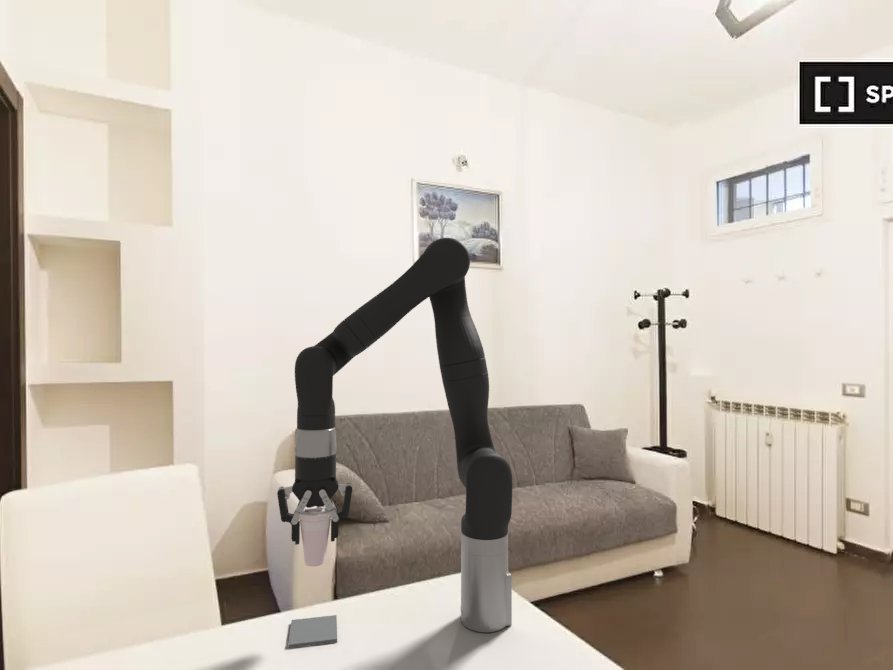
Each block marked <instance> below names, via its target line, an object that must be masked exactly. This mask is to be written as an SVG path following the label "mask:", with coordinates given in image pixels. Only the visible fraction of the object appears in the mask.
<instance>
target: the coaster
mask: <svg viewBox="0 0 893 670" xmlns="http://www.w3.org/2000/svg"><path fill="white" fill-rule="evenodd" d="M337 622H338V619H337V614H333V615H324V616H315V617H308V618H307V617H306V618H297V619H291V621H290V630H289V637H288V644H287V645H288V646H287V647H288V649H291V648H290V647H294V648H301V647H300V646H302V647H309V645H310V646H317V645H326V644H332V643H334V644H335V643H338V626H337V625H338V623H337Z"/></svg>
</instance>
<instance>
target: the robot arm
mask: <svg viewBox="0 0 893 670" xmlns="http://www.w3.org/2000/svg"><path fill="white" fill-rule="evenodd" d="M470 256H471V255H470V253H469V250H468V248H467V246H466V244H463V242H462V241H460V240H458V239H456V238H453V237H442V238H438V239H436V240H434V241H432V242H431V243H429V245H428V246H427V247H426V248H425V249H424V252H423V253H422V254H421V255H420V256H419V257H418V259H417V260H416V261H414V263H413V264H412V265H411V267H409V268H408V269H406V271H405V272H404V273H403V274H402V275H401V276H400V277H398V278H397V279H396V280H395V281H393V282H392V283H391V284H390V285H389V286H388V285H387V286H386V288H384V289H383V290H381V291H380V292H378V294H376V295H375V296H373V297H372V298H370V299H369V300H368V301H366V302H365V303H364V304H363V305H361V306H360V307H359V308H357V309H355V311H353V312H352V313H351V314H350V315H348V316H346V317H345V318H344V320H342V321H340V322H339V323H338V324H337V326H336V327H334V329H333V331H332V332H331V333H330V334H328V335H326V337H324V338H323V339H321V340H320V341H319V342H318V343H316V344H315V345H313V346H309V347H306V348H304V349H303V350H301V351H300V352H299V354H297V357H296V358H295V364H294V382H295V384H294V385H295V391H296V399H297V411H296V414H297V415H296V435H295V440H294V441H295V443H294V444H295V445H294V446H295V447H294V454H295V455H294V456H295V457H294V459H295V460H294V462H295V463H294V482H293V484H292V485H291V486H286V487H284V486H279V487H278V490H277V492H276V494H277V501H278V507H279V515H280V520H281V522H282V523H289V524H290V525H291V534H290V535H291V540H292V541H291V542H293V543H294V545H299V544H300V541H301V539H300V538H301V537H300V536H301V535H300V533H301V525H300V519H299V517H300V515H299V514H302V513H303V511H304V509H305V507H307V508H310V507H314V506H318V507H324V506H325V507H326V509H327V511H328V512H330V511H331V513H330V515H331V520H330V542H335V540H336V539H338V537H339V530H340V529H339V528H340V527H339V525H340V523H339V522H340V520H342V519H345V518H348V517H349V514H350V513H349V512H350V508H351V507H350V506H351V502H352V496H353V495H352V494H353V484H352V483H351V482H347V483H339V481H338V480H337V450H338V447H337V434H336V403H335V400H334V397H333V387H334V384H333V383H334V376H335V375H336V374H337V373H338V372H339V371H340V370H342V369H343V368H344V367H345V366H346V365H348V363H349V362H350V361H352V360H353V359H354V358H355V357H356V356H358V355H360V354H361V353H363V352H364V351H366V350H367V349H369V348H370V346H372V345H374V343H376V342H377V341H378V340H380V339H381V337H383V336H384V335H386V333H388V332H389V331H390V330H391V329H392V328H393V327H395V326H396V325H397V323H399V322H400V321H401V320H403V318H404V317H406V316H407V315H408V314H409V313H410V312H411V311H412V310H414V309H415V308H416V307H417V306H418V305H420V304H421V303H423V302H424V301H425V300H427V299H428V298H429V301H430V304H431V308H432V313H433V314H432V315H433V318H434V320H433V321H434V327H435V328H434V330H435V342H436V350H437V351H436V352H437V356H438V364H439V365H438V366H439V371H440V375H441V380H442V381H441V382H442V385H443V389H444V393H445V398H446V403H447V406H448V410H449V411H448V412H449V413H450V414H449V415H450V417H451V422H452V426H453V432H454V440H455V441H454V443H455V452H456V453H455V454H456V464H457V465H456V468H457V473H458V478H459V480H460V482H461V484H462V486H463V487H464V488H465V512H464V513H465V514H463V515H462V517H461V522H460V540H461V541H460V546H461V548H460V549H461V550H460V560H461V561H460V621H461V623H462V624H463V626H464V627H465V628H468V629H469V630H471V631H474V632H478V633H493V632H498V631H501V630H503V629H505V628H506V627H507V626H512V623H513V622H512V621H513V619H512V616H513V615H512V613H513V612H512V609H513V608H512V607H513V606H512V605H513V603H512V602H513V601H512V600H513V598H512V596H513V595H512V593H513V592H512V589H513V587H512V586H513V585H512V584H513V580H512V579H513V577H512V574H511V572H509V571H510V570H509V524H510V521H511V520H512V511H513V510H512V508H513V473H512V469H511V465H510V464H509V462H508V461H507V459H506V458H505V457H503V456H502V455H500V454H499V453H497V450H496V448H495V446H494V442H493V439H492V435H491V430H490V426H489V421H488V420H489V419H488V411H489V396H490V381H489V380H490V378H489V372H488V366H487V361H486V356H485V352H484V347H483V344H482V341H481V338H480V336H479V333H478V330H477V328H476V325H475V323H474V321H473V318H472V314H471V312H470V307H469V304H468V298H467V297H468V296H467V288H466V276H467V274H468V272H469V270H470V265H471V257H470ZM338 490H339V491H340V495H341V496H342V497H343V499H342V500H343V501H342V504H341V506H342V507H341V509H339V510H337V508H336V506H335V502H334V501H333V499H332V498H333V497H334V496H335V494H336V492H337V491H338ZM291 494H293V495H294V496H295V497H296V499H298V503H297V504H296V508H295V510H294V511H293V513H290V512H289V506H288V500H289V499H290V497H291Z"/></svg>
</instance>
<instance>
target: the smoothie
mask: <svg viewBox="0 0 893 670" xmlns="http://www.w3.org/2000/svg"><path fill="white" fill-rule="evenodd" d="M330 513H331V511H330V512H328V511H327V509H326V507H325V506H324V507H318V506H314V507H310V508H307V507H305V509H304V511H303V513H302V514H299V515H300V517H299V521H300V533H301V540H302V548H303V550H302V551H303V559H304V565H305V566H307V567H318V566H322V565H324V564H325V563H326V560H327V559H326V558H327V550H328V549H327V548H328V543H329V535H330V529H331V519H332V518H331V515H330Z"/></svg>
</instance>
